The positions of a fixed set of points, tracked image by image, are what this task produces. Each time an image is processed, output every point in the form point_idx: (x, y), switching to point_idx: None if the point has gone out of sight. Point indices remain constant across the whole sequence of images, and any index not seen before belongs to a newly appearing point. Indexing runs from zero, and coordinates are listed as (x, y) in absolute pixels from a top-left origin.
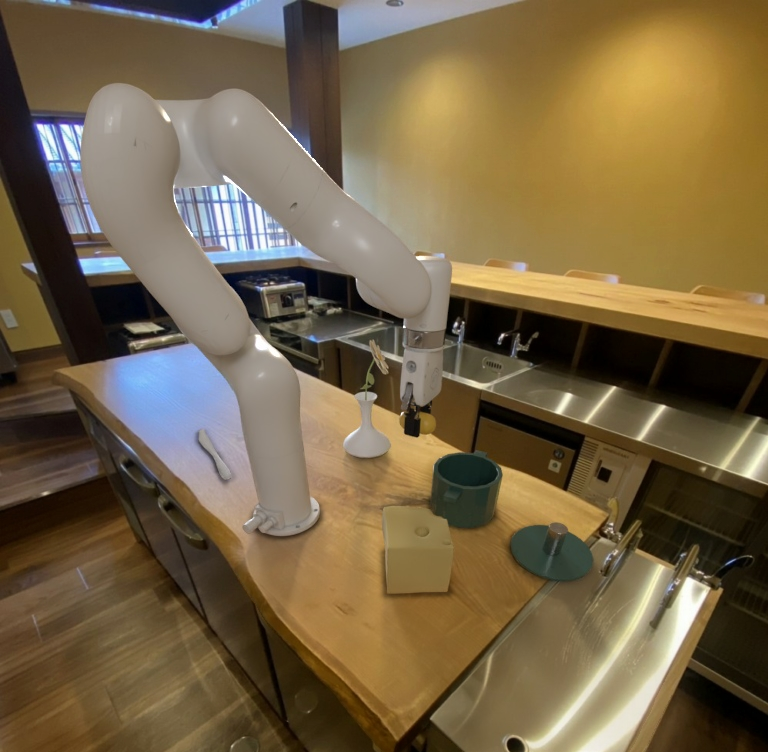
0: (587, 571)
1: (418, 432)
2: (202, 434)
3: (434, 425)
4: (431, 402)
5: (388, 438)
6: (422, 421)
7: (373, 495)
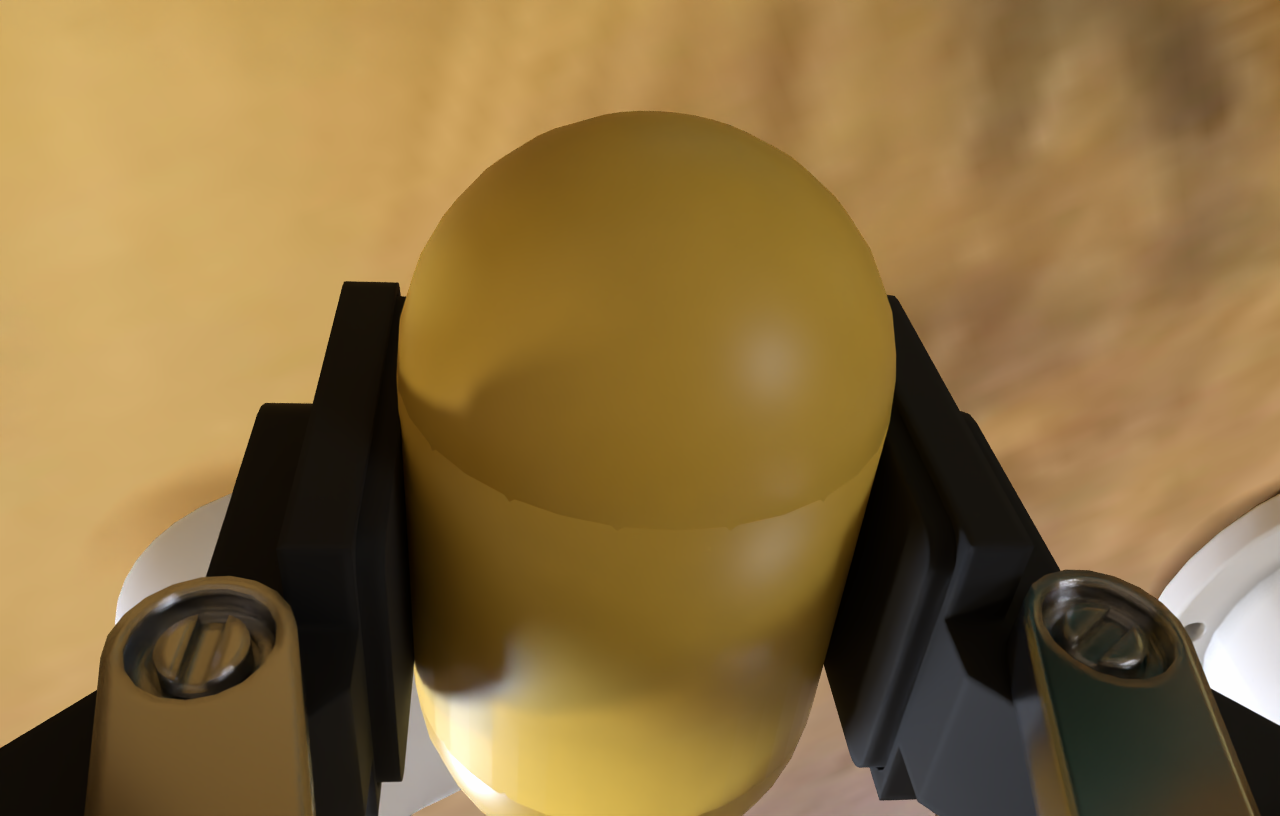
0: None
1: (921, 348)
2: None
3: (726, 159)
4: (158, 717)
5: (164, 566)
6: (871, 459)
7: (1020, 265)
